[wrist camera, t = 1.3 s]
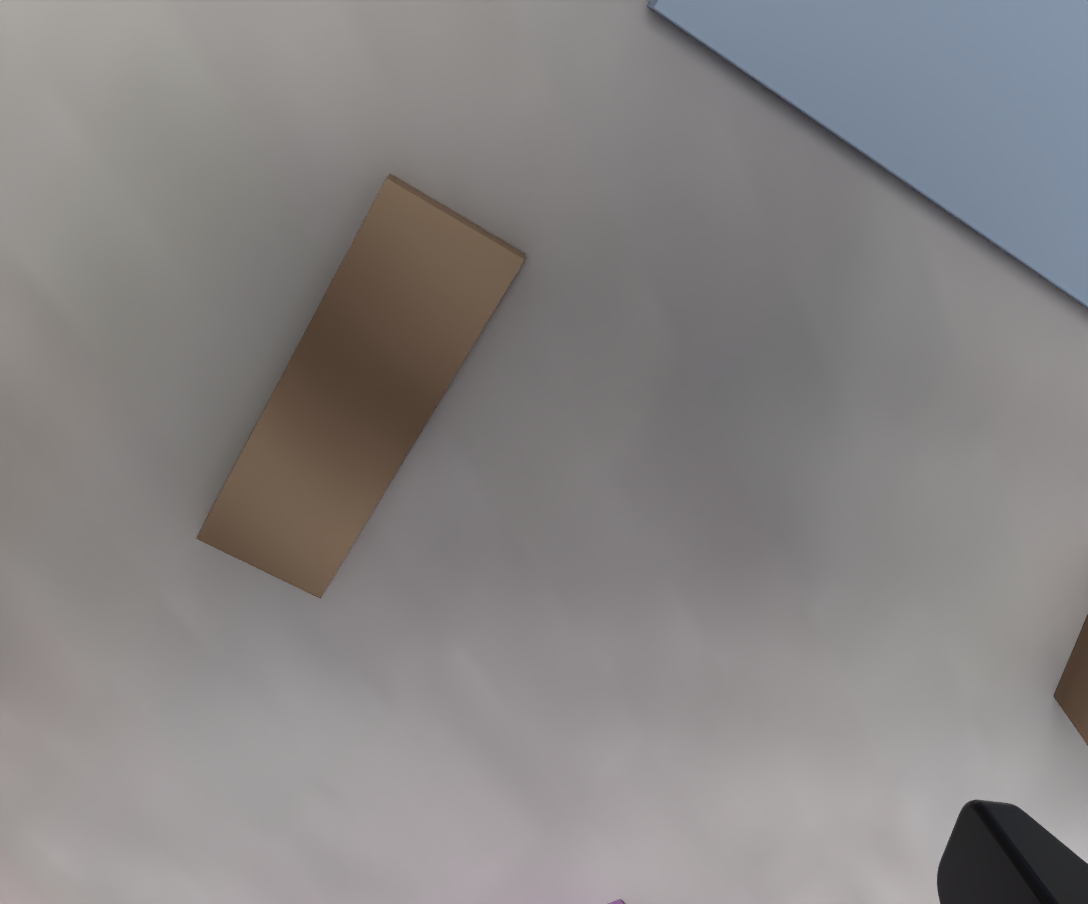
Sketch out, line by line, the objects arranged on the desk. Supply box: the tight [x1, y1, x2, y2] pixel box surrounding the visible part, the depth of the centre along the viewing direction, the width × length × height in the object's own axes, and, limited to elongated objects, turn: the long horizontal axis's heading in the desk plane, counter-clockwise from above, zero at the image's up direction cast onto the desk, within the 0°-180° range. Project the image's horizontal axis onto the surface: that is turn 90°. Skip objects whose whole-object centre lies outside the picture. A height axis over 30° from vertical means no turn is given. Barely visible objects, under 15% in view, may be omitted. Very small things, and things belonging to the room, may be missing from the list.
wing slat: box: [196, 174, 525, 598], centre depth 22 cm, size 9×3×1 cm, turn 149°
